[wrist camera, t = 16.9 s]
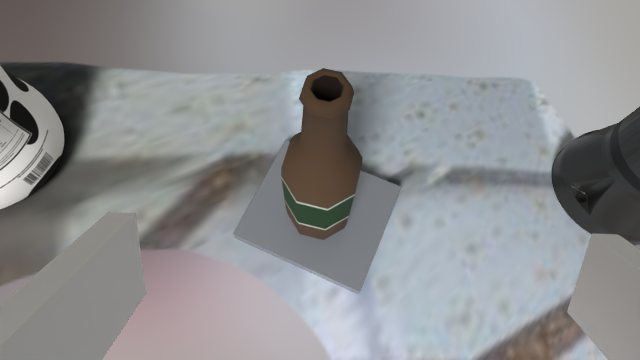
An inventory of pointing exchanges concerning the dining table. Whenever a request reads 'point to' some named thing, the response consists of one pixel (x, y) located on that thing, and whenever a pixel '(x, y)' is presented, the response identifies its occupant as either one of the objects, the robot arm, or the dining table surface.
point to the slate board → (312, 253)
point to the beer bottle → (322, 158)
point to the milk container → (26, 139)
